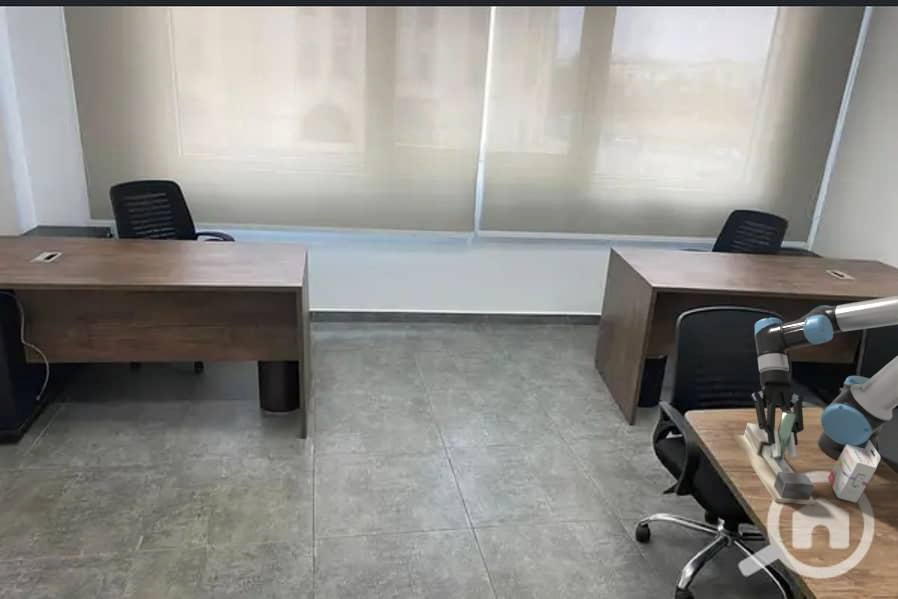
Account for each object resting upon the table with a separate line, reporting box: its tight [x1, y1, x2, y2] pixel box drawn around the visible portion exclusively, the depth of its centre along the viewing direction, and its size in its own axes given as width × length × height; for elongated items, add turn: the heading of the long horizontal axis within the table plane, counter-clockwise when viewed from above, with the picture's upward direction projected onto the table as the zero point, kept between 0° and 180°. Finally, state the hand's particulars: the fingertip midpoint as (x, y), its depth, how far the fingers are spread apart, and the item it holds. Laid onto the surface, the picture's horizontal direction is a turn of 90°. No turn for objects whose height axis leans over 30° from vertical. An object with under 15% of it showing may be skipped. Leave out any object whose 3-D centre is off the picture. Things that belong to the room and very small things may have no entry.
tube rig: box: [733, 422, 817, 506], centre depth 175 cm, size 10×30×6 cm, turn 177°
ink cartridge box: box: [827, 440, 882, 504], centre depth 165 cm, size 9×5×15 cm, turn 168°
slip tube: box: [760, 410, 796, 475], centre depth 172 cm, size 3×20×16 cm, turn 177°
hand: (784, 457), depth 169 cm, fingers open, 3 cm apart
